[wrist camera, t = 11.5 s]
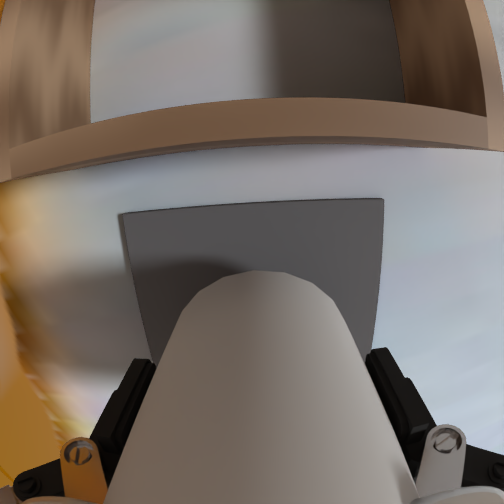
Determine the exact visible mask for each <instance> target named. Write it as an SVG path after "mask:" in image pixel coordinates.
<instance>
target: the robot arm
mask: <svg viewBox="0 0 504 504" xmlns="http://www.w3.org/2000/svg"><path fill="white" fill-rule="evenodd" d="M365 365H366V368H367V370H368V372H369V374H370V376H371V379H372V381H373V383H374V385H375V388H376V390H377V392H378V395H379V397H380V399H381V401H382V404H383V406H384V408H385V411H386V413H387V415H388V418H389V420H390V423H391V425H392V427H393V430H394V432H395V435H396V437H397V440H398V442H399V445H400V447H401V450H402V452H403V455H404V457H405V460H406V462H407V465H408V467H409V470H410V473H411V475H412V478H413V480H414V483H415V487H416V489H417V492H418V495H419V497H420V498H417V499H414V500H412V501H411V502H410V503H409V504H504V455H501V454H497V453H494V452H490V451H487V450H484V449H480V448H477V447H474V446H471V445H468V444H466V437H465V435H464V433H463V432H462V431H461V430H460V429H459V428H457V427H456V426H453V425H449V424H443V425H439V426H437V425H436V424H435V422H434V420H433V418H432V416H431V414H430V413H429V411H428V409H427V407H426V405H425V404H424V402H423V400H422V398H421V396H420V395H419V393H418V391H417V389H416V388H415V386H414V384H413V382H412V381H411V380H410V378H408V377H407V378H405V377H404V376H403V374H402V372H401V370H400V369H399V367H398V365H397V363H396V362H395V360H394V358H393V357H392V355H391V353H390V351H389V350H388V348H386V347H384V348H377V349H372V350H371V352H370V353H369V354H367V355H366V359H365ZM155 371H156V366H155V364H154V363H151V361H150V360H149V359H136V358H135V359H134V360H133V361H132V363H131V365H130V367H129V369H128V370H127V372H126V374H125V376H124V378H123V380H122V382H121V384H120V385H119V387H118V389H117V390H115V391H114V392H113V393H112V395H111V397H110V399H109V401H108V403H107V405H106V407H105V409H104V411H103V412H102V414H101V416H100V418H99V420H98V422H97V424H96V426H95V428H94V430H93V432H92V434H91V436H90V438H89V439H88V438H84V437H78V438H74V439H71V440H69V441H68V442H66V443H65V444H64V445H63V446H62V449H61V451H60V459H57V460H55V461H52V462H49V463H47V464H44V465H41V466H39V467H36V468H33V469H30V470H27V471H24V472H23V473H21V474H19V475H18V476H17V477H16V478H15V480H14V483H13V486H12V487H10V486H9V485H7V486H5V487H3V488H0V504H103V503H104V500H105V497H106V494H107V492H108V489H109V486H110V483H111V481H112V478H113V475H114V473H115V470H116V468H117V465H118V462H119V460H120V457H121V455H122V452H123V449H124V447H125V444H126V442H127V439H128V437H129V434H130V432H131V429H132V427H133V424H134V422H135V419H136V417H137V414H138V412H139V410H140V407H141V405H142V402H143V400H144V397H145V395H146V393H147V390H148V388H149V385H150V383H151V381H152V378H153V376H154V374H155Z"/></svg>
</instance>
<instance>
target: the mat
mask: <svg viewBox="0 0 504 504" xmlns="http://www.w3.org/2000/svg"><path fill="white" fill-rule="evenodd" d="M123 221H124V228H125V234H126V241H127V247H128V252H129V258H130V264H131V269H132V274H133V279H134V284H135V289H136V294H137V299H138V303H139V308H140V312H141V316H142V320H143V325H144V329H145V333H146V337H147V341H148V344H149V348H150V352H151V356H152V359H153V363H154V364H155V366H156V369H157V367H158V364H159V362H160V360H161V357H162V355H163V353H164V350H165V348H166V346H167V344H168V341H169V339H170V337H171V335H172V332H173V330H174V328H175V326H176V323H177V321H178V319H179V317H180V314H181V312H182V311H183V309H184V308H185V307H186V306H187V305H188V303H189V302H190V301H191V300H192V299H193V298H194V296H195V295H196V294H197V293H198V292H199V291H200V290H202V289H204V288H206V287H207V286H209V285H211V284H212V283H214V282H216V281H218V280H219V279H221V278H223V277H226V276H231V275H235V274H239V273H244V272H248V271H253V270H256V271H271V272H285V273H288V274H290V275H293V276H295V277H298V278H301V279H303V280H306V281H309V282H311V283H313V284H314V285H315V286H317V287H318V288H319V289H320V290H322V291H323V292H324V293H325V294H326V295H328V296H329V297H330V298H331V299H332V300H333V301H334V303H335V304H336V306H337V308H338V310H339V311H340V313H341V315H342V317H343V319H344V320H345V322H346V325H347V327H348V329H349V331H350V333H351V335H352V337H353V339H354V341H355V344H356V346H357V348H358V350H359V352H360V354H361V357H362V359H363V361H364V363H365V359H366V355H367V354H369V353H370V352H371V347H372V341H373V334H374V327H375V320H376V312H377V303H378V294H379V284H380V273H381V261H382V245H383V225H384V199H382V198H355V199H317V200H291V201H270V202H252V203H236V204H221V205H207V206H194V207H182V208H170V209H159V210H149V211H139V212H129V213H125V214H123Z"/></svg>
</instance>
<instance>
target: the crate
mask: <svg viewBox="0 0 504 504" xmlns="http://www.w3.org/2000/svg"><path fill="white" fill-rule="evenodd" d="M389 1H390V6H391V10H392V15H393V20H394V25H395V30H396V35H397V41H398V47H399V53H400V60H401V67H402V75H403V83H404V92H405V103H399V102H389V101H379V100H366V99H349V98H316V97H295V98H262V99H245V100H232V101H220V102H210V103H201V104H193V105H185V106H178V107H171V108H165V109H159V110H153V111H147V112H142V113H136V114H131V115H126V116H122V117H117V118H112V119H108V120H104V121H99V122H95V123H91V120H90V55H91V37H92V24H93V13H94V4H95V0H6V1H5V5H4V10H3V14H2V19H1V23H0V183H2V182H6V181H11V180H16V179H21V178H26V177H31V176H37V175H42V174H48V173H54V172H60V171H67V170H73V169H79V168H84V167H89V166H95V165H100V164H105V163H111V162H117V161H122V160H129V159H135V158H141V157H148V156H155V155H163V154H170V153H179V152H187V151H197V150H207V149H217V148H230V147H243V146H260V145H282V144H374V145H395V146H410V147H423V148H454V149H473V150H488V151H500V152H504V92H503V85H502V78H501V72H500V66H499V61H498V56H497V51H496V46H495V42H494V38H493V34H492V30H491V26H490V22H489V19H488V15H487V12H486V9H485V5H484V2H483V0H389Z"/></svg>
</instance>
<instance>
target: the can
mask: <svg viewBox="0 0 504 504" xmlns="http://www.w3.org/2000/svg"><path fill="white" fill-rule="evenodd" d="M417 498H420V497H419V495H418V492H417V489H416V487H415V483H414V480H413V478H412V475H411V473H410V470H409V467H408V465H407V462H406V460H405V457H404V455H403V452H402V450H401V447H400V445H399V442H398V440H397V437H396V435H395V432H394V430H393V427H392V425H391V423H390V420H389V418H388V415H387V413H386V411H385V408H384V406H383V404H382V401H381V399H380V397H379V395H378V392H377V390H376V388H375V385H374V383H373V381H372V379H371V376H370V374H369V372H368V370H367V368H366V365H365V363H364V361H363V359H362V357H361V354H360V352H359V350H358V348H357V346H356V344H355V341H354V339H353V337H352V335H351V333H350V331H349V329H348V327H347V325H346V322H345V320H344V319H343V317H342V315H341V313H340V311H339V310H338V308H337V306H336V304H335V303H334V301H333V300H332V299H331V298H330V297H329V296H328V295H326V294H325V293H324V292H323V291H322V290H320V289H319V288H318V287H317V286H315V285H314V284H313V283H311V282H309V281H306V280H303V279H301V278H298V277H295V276H293V275H290V274H288V273H285V272H271V271H256V270H253V271H248V272H244V273H239V274H235V275H231V276H226V277H223V278H221V279H219V280H218V281H216V282H214V283H212V284H211V285H209V286H207V287H206V288H204V289H202V290H200V291H199V292H198V293H197V294H196V295H195V296H194V298H193V299H192V300H191V301H190V302H189V303H188V305H187V306H186V307H185V308H184V309H183V311H182V312H181V314H180V317H179V319H178V321H177V323H176V326H175V328H174V330H173V332H172V335H171V337H170V339H169V341H168V344H167V346H166V348H165V350H164V353H163V355H162V357H161V360H160V362H159V364H158V367H157V369H156V371H155V374H154V376H153V378H152V381H151V383H150V385H149V388H148V390H147V393H146V395H145V397H144V400H143V402H142V405H141V407H140V410H139V412H138V414H137V417H136V419H135V422H134V424H133V427H132V429H131V432H130V434H129V437H128V439H127V442H126V444H125V447H124V449H123V452H122V455H121V457H120V460H119V462H118V465H117V468H116V470H115V473H114V475H113V478H112V481H111V483H110V486H109V489H108V492H107V494H106V497H105V500H104V503H103V504H409V503H410V502H411V501H412V500H414V499H417Z"/></svg>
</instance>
